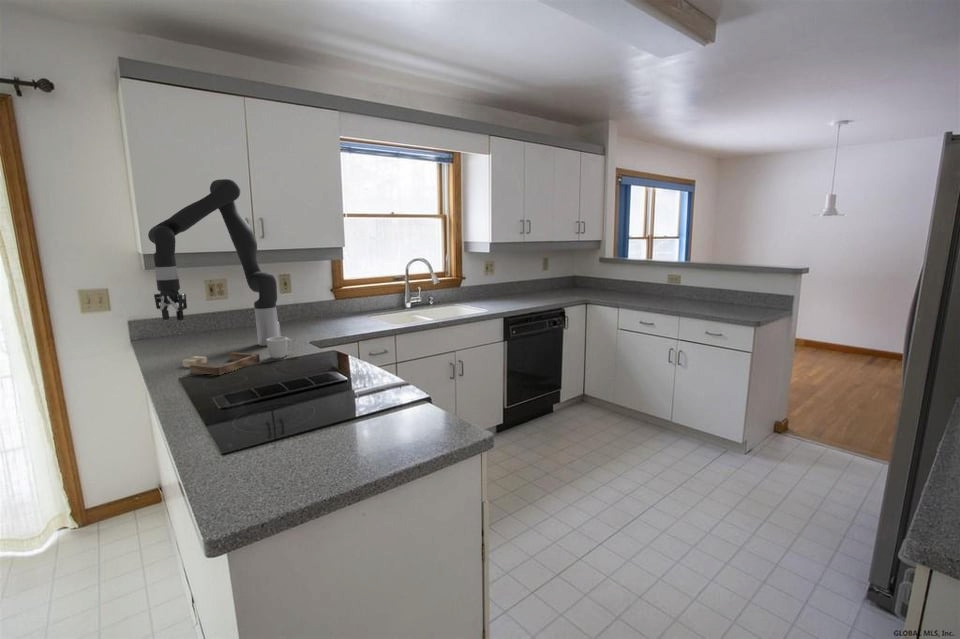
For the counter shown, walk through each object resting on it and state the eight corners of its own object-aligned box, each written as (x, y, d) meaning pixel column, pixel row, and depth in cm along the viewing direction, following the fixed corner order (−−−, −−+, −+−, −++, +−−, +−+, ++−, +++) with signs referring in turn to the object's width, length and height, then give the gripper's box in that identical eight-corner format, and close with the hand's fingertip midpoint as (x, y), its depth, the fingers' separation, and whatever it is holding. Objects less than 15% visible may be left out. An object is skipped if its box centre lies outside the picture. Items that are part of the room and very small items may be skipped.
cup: (286, 352, 209) (284, 334, 208) (298, 354, 205) (296, 336, 204) (264, 358, 200) (262, 339, 199) (276, 360, 196) (274, 341, 195)
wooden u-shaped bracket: (232, 359, 200) (231, 352, 199) (260, 361, 195) (259, 354, 195) (190, 373, 181) (189, 365, 181) (219, 376, 177) (218, 368, 176)
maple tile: (196, 363, 196) (195, 356, 196) (207, 364, 195) (206, 357, 194) (183, 367, 191) (181, 360, 190) (194, 368, 189) (193, 360, 188)
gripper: (189, 277, 191) (195, 318, 194) (162, 277, 195) (168, 317, 198) (172, 279, 184) (178, 322, 187) (144, 279, 188) (151, 321, 191)
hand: (173, 319), depth 192 cm, fingers open, 7 cm apart
